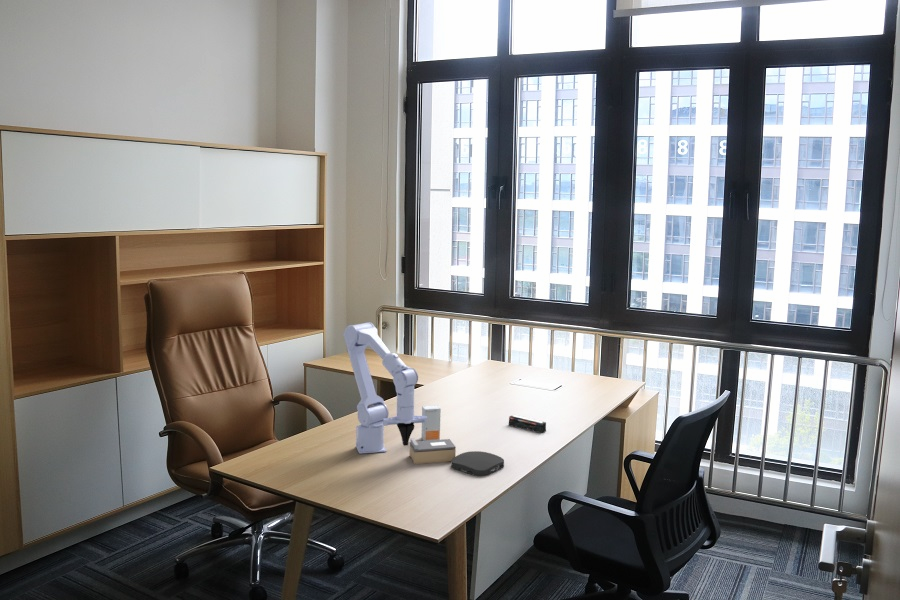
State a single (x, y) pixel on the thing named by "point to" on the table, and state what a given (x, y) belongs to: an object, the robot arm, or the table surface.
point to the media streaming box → (477, 463)
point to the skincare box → (431, 423)
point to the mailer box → (432, 456)
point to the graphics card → (527, 423)
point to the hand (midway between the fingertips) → (405, 444)
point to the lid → (431, 445)
